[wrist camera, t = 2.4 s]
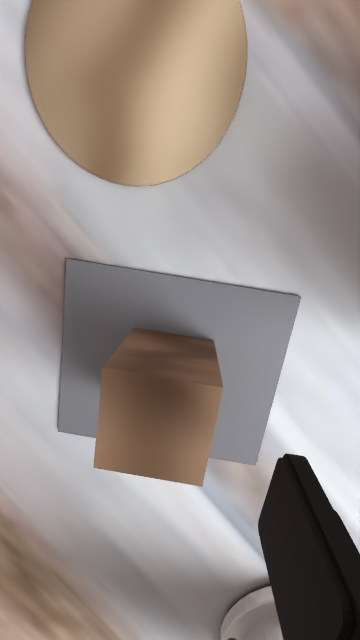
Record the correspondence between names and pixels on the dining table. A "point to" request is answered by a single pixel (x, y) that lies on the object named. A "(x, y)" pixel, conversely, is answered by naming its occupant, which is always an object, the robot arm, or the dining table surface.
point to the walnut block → (159, 407)
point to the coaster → (136, 81)
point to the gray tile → (182, 319)
